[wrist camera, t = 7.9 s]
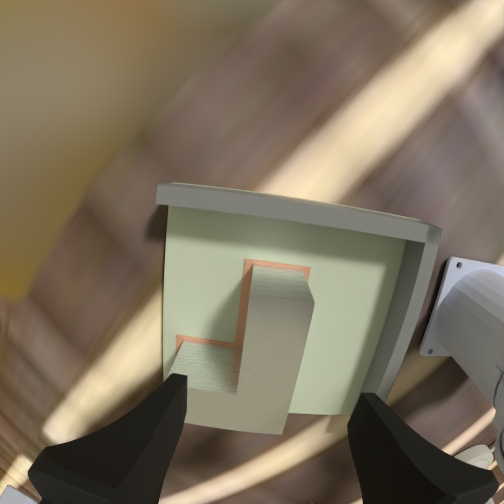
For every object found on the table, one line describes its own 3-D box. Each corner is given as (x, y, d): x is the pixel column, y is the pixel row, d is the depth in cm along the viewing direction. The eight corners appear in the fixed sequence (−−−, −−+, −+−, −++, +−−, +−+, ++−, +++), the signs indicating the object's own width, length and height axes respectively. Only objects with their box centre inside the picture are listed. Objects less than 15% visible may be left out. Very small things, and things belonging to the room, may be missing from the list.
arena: (419, 219, 19) (442, 228, 16) (359, 410, 23) (368, 435, 20) (173, 182, 19) (157, 185, 16) (165, 390, 23) (155, 415, 20)
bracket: (279, 385, 21) (281, 434, 16) (183, 373, 21) (166, 418, 17) (302, 269, 19) (315, 302, 14) (188, 254, 19) (164, 282, 14)
